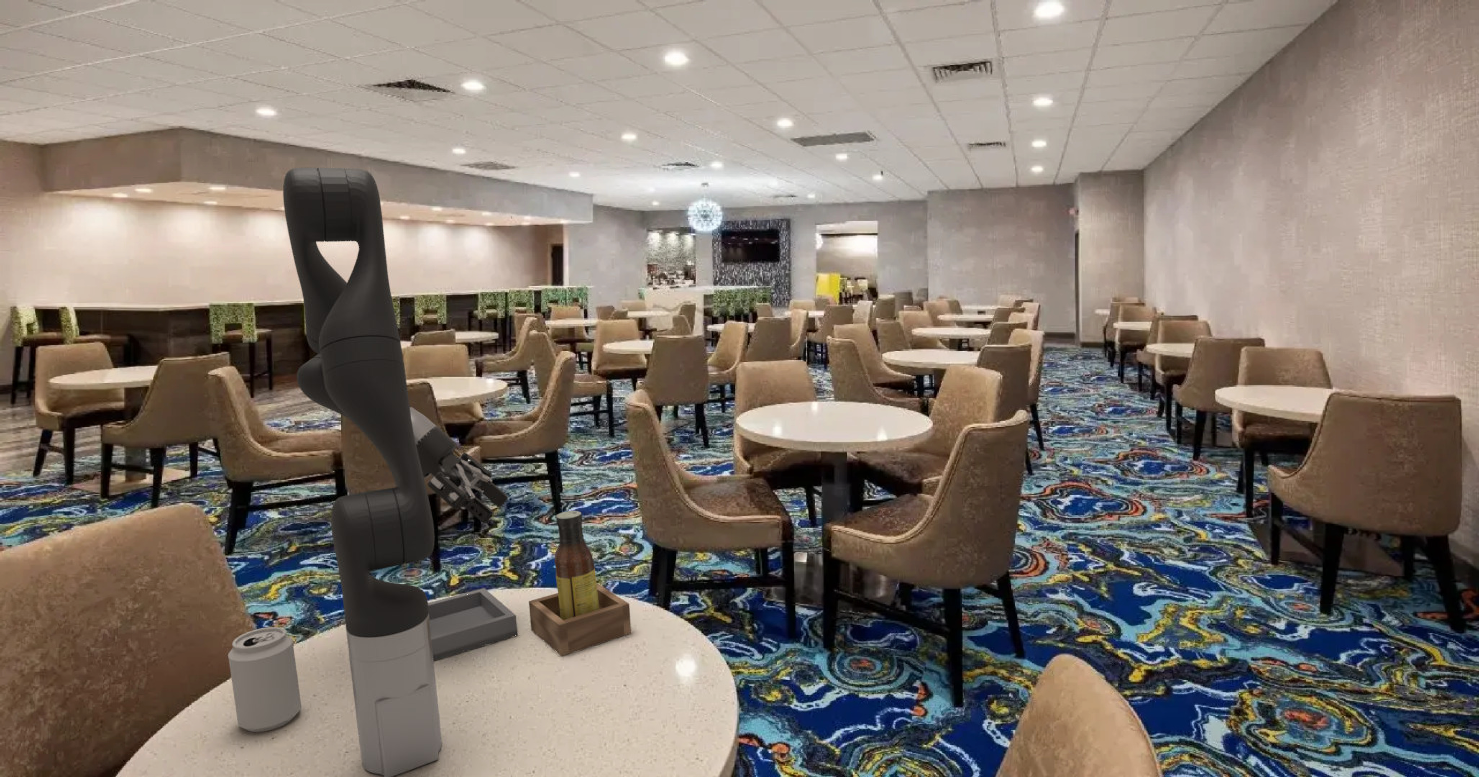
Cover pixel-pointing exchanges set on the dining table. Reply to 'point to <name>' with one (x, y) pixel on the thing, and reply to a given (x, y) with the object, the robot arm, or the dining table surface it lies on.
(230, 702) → the dining table surface
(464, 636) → the tray
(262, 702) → the can
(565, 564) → the sauce bottle
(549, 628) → the bottle holder
